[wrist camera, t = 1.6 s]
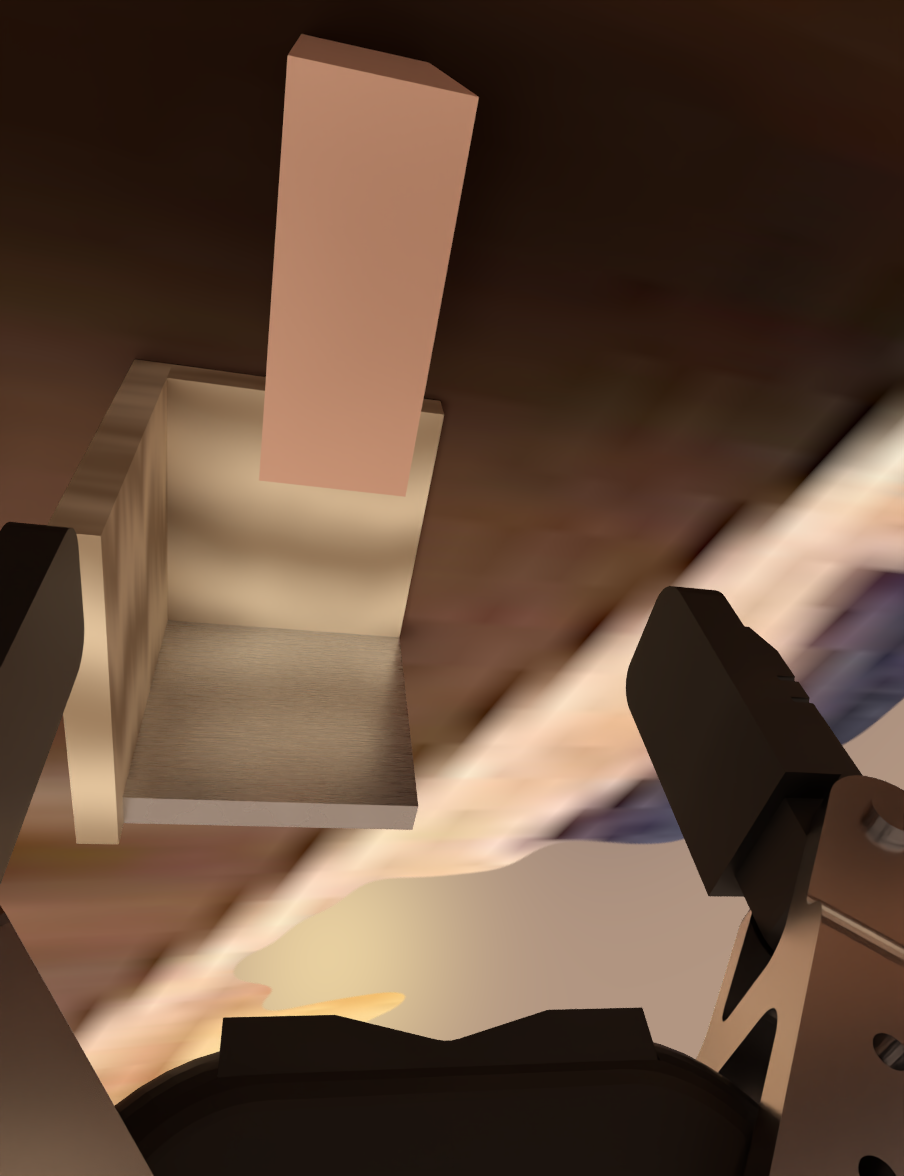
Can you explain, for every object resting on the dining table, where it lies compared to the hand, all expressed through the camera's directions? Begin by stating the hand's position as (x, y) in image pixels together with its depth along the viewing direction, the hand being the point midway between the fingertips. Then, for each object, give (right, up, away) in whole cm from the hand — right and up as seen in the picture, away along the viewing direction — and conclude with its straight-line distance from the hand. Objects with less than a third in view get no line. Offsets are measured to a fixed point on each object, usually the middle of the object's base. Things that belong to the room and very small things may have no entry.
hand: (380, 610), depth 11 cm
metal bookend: (-7, -2, +30) cm, 31 cm away
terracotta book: (-3, +15, +20) cm, 25 cm away
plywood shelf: (-7, +4, +28) cm, 29 cm away
